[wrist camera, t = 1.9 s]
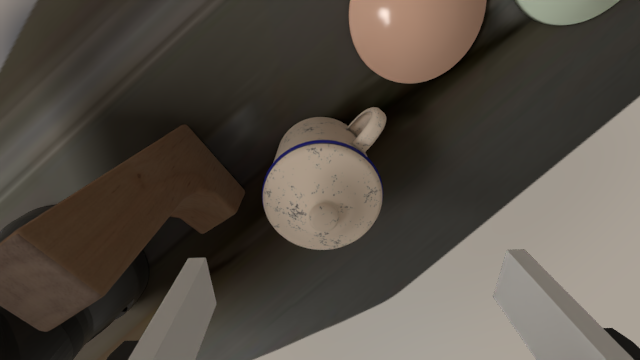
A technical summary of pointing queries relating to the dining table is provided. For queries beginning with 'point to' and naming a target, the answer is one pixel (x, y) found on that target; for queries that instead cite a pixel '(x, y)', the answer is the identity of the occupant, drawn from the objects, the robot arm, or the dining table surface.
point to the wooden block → (111, 227)
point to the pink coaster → (413, 35)
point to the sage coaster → (563, 10)
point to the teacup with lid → (325, 181)
